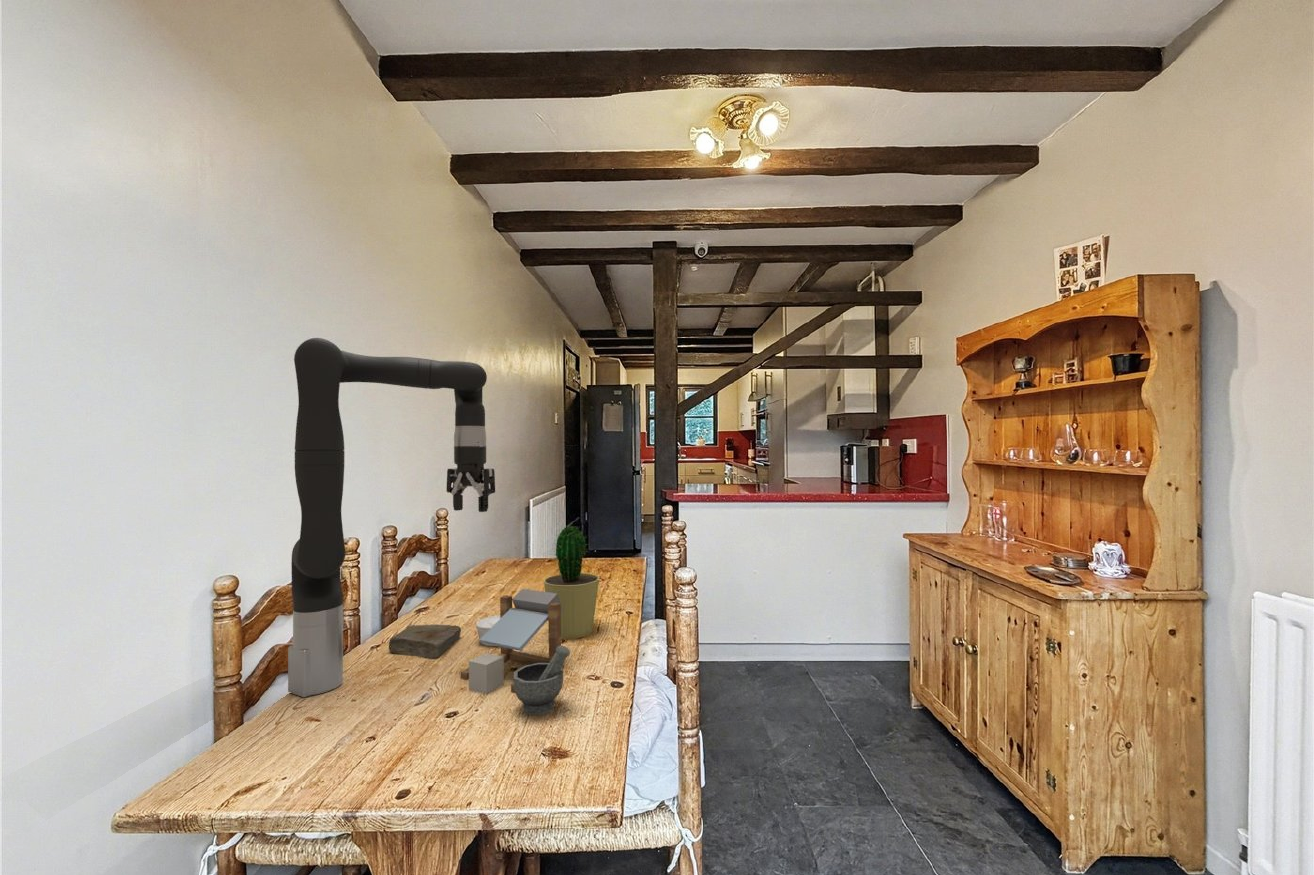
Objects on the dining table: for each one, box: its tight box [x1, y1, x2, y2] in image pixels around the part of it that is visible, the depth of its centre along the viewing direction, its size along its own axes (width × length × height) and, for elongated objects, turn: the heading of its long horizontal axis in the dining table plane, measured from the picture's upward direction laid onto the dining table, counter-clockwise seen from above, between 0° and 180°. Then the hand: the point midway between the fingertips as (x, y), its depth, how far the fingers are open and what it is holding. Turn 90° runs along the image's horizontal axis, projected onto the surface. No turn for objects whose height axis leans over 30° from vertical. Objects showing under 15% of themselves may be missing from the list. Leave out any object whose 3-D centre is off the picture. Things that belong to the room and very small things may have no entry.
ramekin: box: [475, 614, 500, 647], centre depth 144 cm, size 11×11×5 cm
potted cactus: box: [543, 525, 600, 640], centre depth 150 cm, size 15×15×30 cm
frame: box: [460, 594, 565, 693], centre depth 122 cm, size 15×17×15 cm
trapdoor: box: [479, 588, 563, 652], centre depth 125 cm, size 16×12×5 cm
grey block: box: [468, 652, 505, 695], centre depth 115 cm, size 5×5×6 cm
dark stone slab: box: [388, 624, 462, 659], centre depth 140 cm, size 17×15×4 cm
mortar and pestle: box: [513, 644, 571, 716], centre depth 105 cm, size 11×9×12 cm
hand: (470, 511), depth 132 cm, fingers open, 8 cm apart
